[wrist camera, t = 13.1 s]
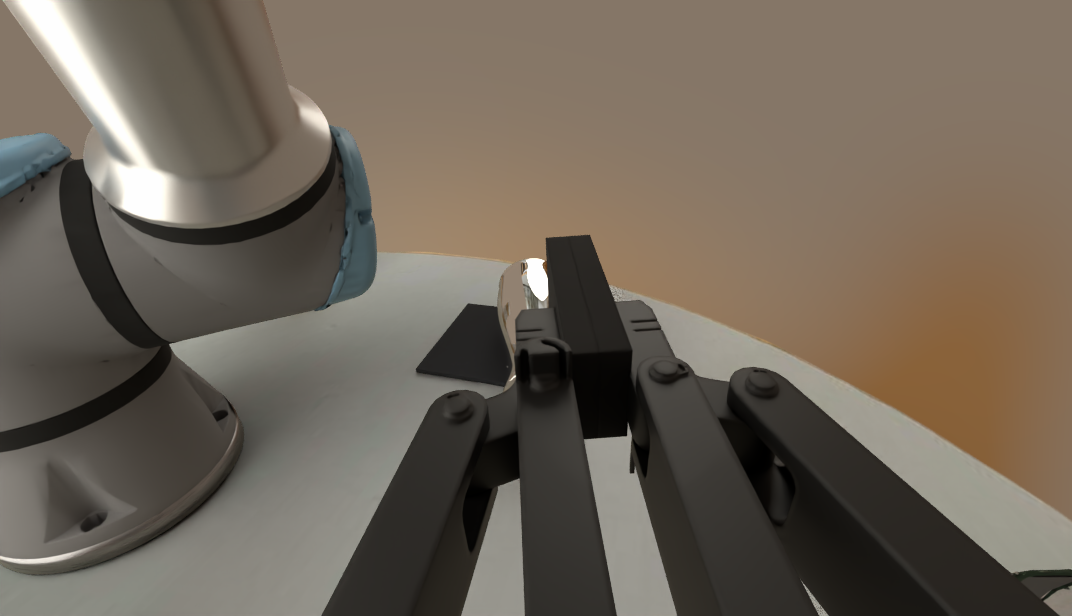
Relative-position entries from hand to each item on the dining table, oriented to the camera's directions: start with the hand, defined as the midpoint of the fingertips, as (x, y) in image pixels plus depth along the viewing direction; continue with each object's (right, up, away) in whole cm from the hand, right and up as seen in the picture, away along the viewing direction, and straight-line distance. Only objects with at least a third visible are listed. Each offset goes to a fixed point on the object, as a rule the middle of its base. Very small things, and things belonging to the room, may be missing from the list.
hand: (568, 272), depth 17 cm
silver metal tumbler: (-1, -8, +20) cm, 21 cm away
